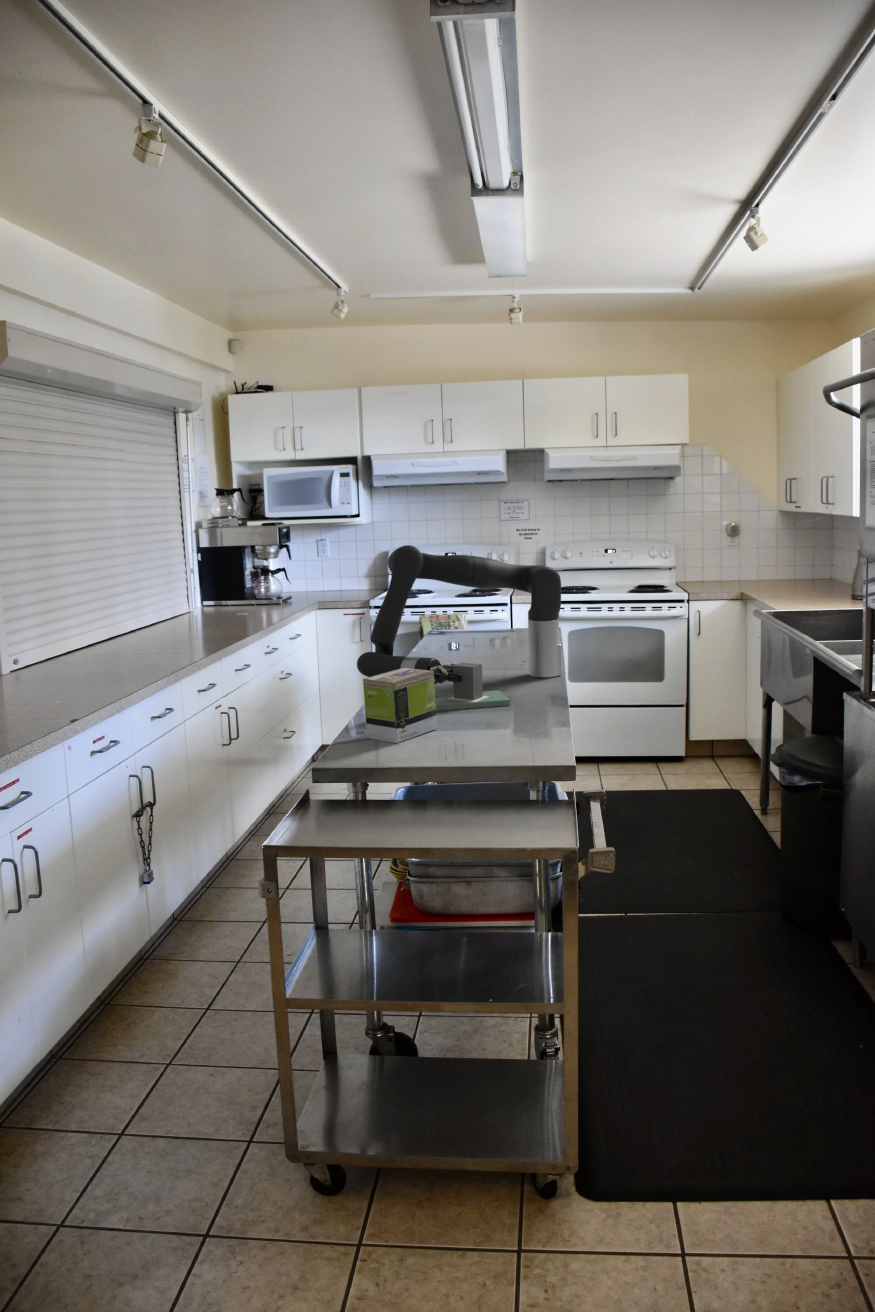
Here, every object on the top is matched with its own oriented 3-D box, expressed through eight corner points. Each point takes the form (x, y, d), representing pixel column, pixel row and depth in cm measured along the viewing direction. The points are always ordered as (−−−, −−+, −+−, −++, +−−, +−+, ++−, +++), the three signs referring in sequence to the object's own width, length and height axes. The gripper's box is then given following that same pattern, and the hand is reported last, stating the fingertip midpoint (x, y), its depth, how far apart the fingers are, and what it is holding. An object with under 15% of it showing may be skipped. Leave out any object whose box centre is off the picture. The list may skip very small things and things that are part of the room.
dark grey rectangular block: (453, 698, 254) (452, 665, 252) (462, 694, 257) (461, 662, 256) (473, 700, 250) (472, 667, 248) (482, 697, 254) (481, 664, 252)
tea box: (406, 724, 234) (404, 666, 231) (438, 730, 227) (436, 670, 225) (365, 738, 222) (361, 677, 220) (396, 744, 216) (394, 681, 213)
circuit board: (499, 695, 261) (498, 679, 261) (510, 705, 250) (509, 688, 249) (428, 701, 258) (427, 685, 257) (436, 711, 246) (435, 694, 245)
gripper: (405, 661, 255) (455, 666, 246) (434, 653, 266) (483, 657, 257) (406, 688, 256) (456, 694, 247) (435, 679, 268) (484, 684, 258)
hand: (470, 675), depth 252 cm, fingers open, 8 cm apart
